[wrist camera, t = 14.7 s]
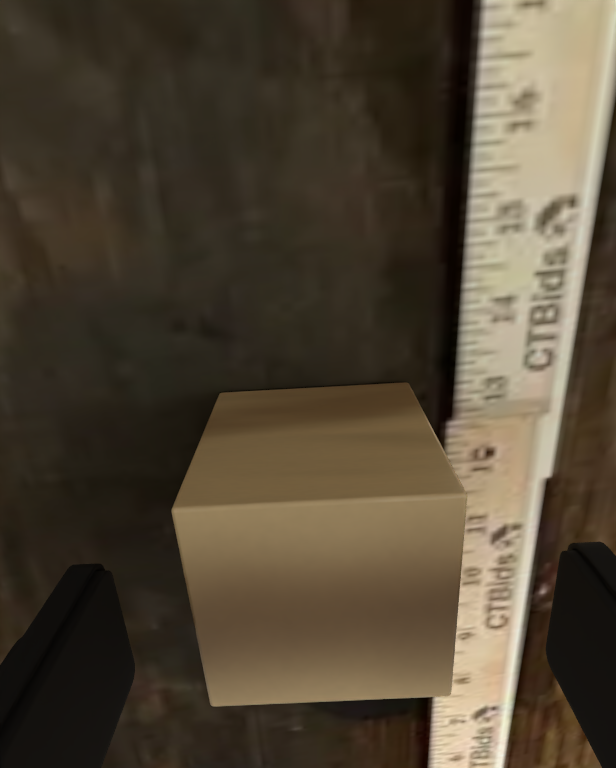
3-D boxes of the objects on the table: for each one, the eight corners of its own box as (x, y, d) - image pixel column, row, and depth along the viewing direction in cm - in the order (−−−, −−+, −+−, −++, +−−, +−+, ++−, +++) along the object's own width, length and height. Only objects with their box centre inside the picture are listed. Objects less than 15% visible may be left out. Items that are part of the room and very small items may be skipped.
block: (218, 391, 13) (169, 510, 8) (408, 381, 13) (469, 493, 8) (240, 542, 15) (209, 709, 10) (405, 534, 14) (452, 698, 10)
